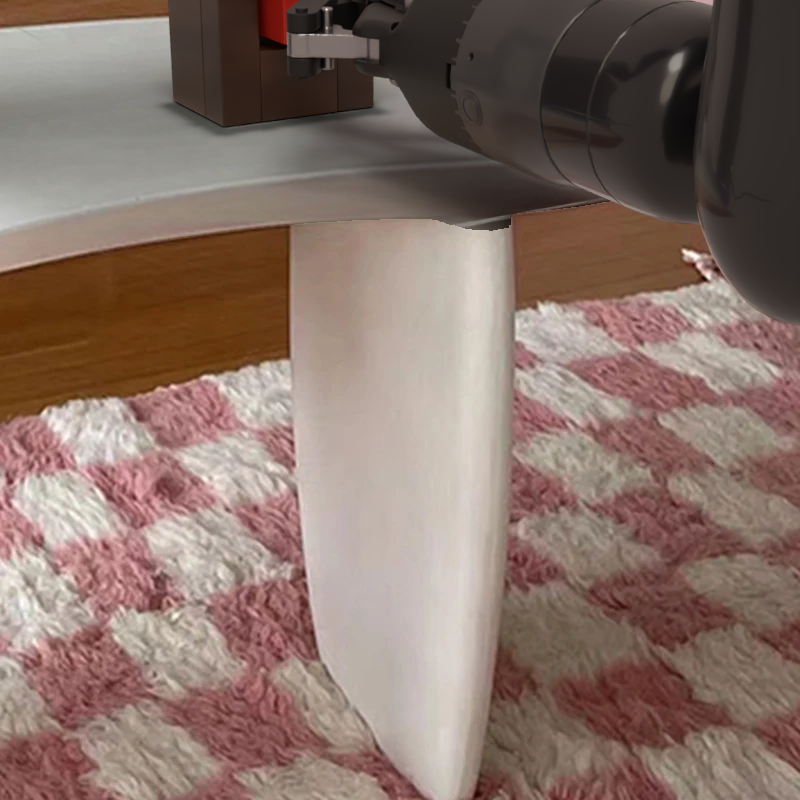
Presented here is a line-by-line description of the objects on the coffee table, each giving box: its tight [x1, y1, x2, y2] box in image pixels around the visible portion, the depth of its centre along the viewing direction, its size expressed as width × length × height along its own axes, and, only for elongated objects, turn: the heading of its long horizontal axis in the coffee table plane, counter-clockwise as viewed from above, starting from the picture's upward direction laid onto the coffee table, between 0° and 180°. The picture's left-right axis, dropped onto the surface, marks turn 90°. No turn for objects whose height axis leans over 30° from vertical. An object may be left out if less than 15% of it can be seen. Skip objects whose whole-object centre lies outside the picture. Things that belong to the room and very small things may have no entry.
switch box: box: [167, 0, 375, 127], centre depth 77 cm, size 8×6×9 cm
